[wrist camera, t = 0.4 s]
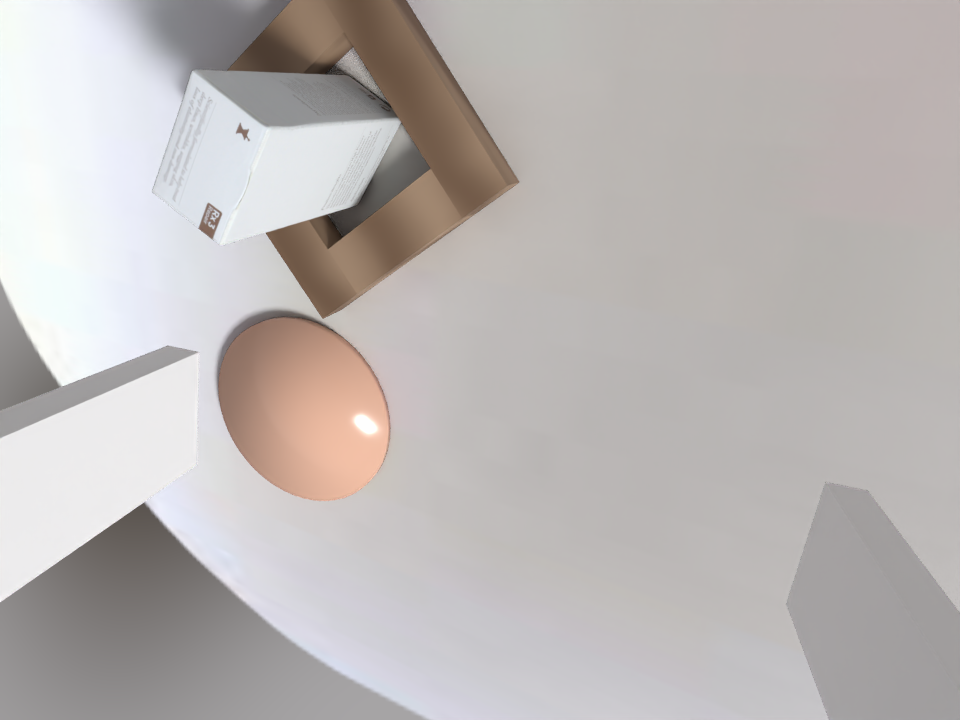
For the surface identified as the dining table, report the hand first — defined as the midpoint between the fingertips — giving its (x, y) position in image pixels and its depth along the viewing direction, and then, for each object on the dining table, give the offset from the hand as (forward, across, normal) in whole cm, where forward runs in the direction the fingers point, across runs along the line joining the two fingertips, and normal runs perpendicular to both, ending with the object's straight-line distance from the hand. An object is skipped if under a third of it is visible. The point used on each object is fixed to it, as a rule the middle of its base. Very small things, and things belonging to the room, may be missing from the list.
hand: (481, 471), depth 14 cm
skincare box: (+26, -13, +5) cm, 29 cm away
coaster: (+27, -16, -12) cm, 34 cm away
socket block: (+25, -13, +5) cm, 29 cm away
